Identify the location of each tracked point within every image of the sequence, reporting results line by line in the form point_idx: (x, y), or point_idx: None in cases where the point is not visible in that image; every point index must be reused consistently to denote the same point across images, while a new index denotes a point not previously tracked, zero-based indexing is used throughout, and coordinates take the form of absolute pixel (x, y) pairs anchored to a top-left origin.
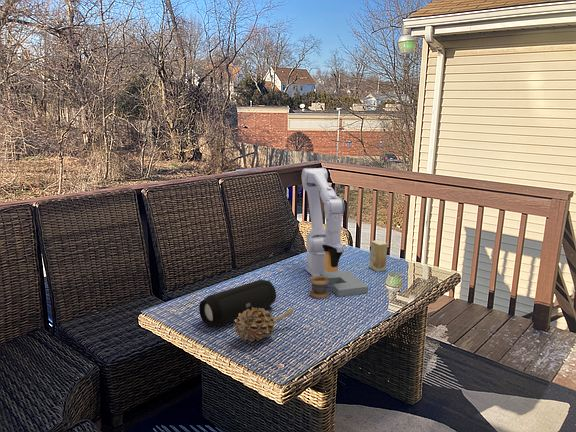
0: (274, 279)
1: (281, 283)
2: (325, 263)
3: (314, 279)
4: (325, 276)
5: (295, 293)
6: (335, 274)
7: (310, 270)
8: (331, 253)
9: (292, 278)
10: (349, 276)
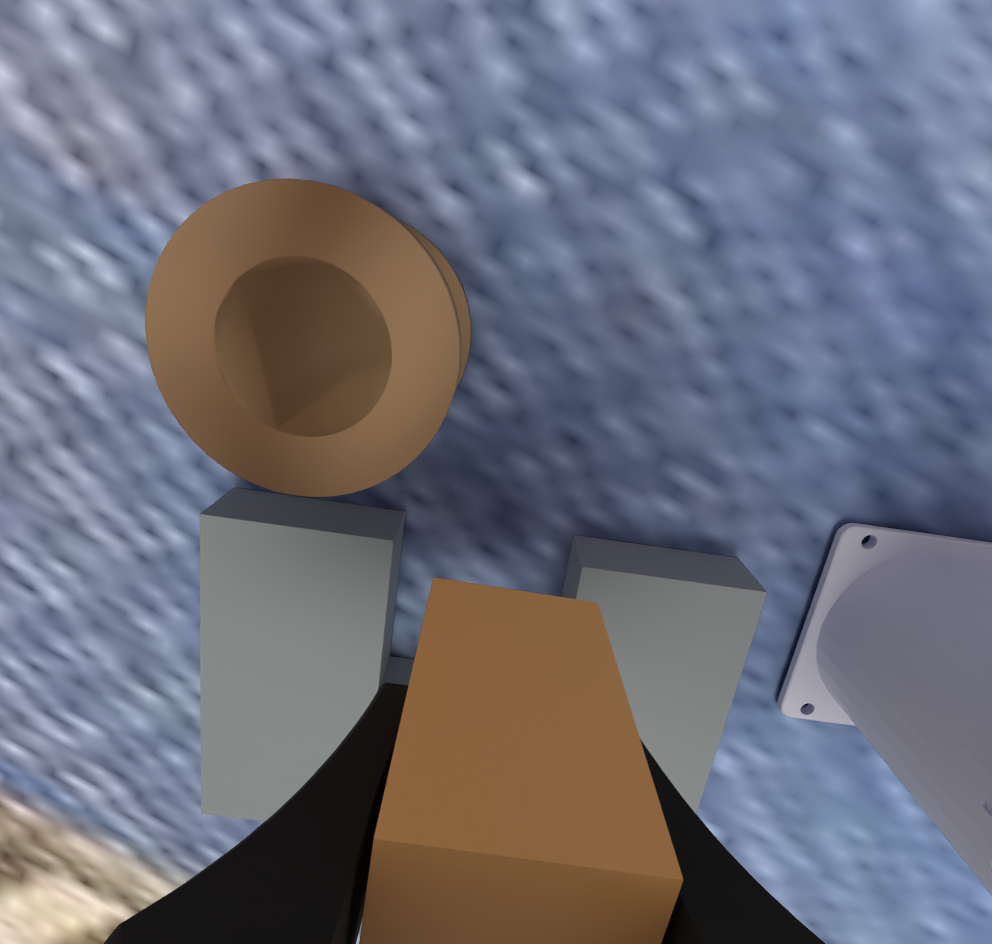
0: None
1: (899, 29)
2: (554, 660)
3: (313, 258)
4: (646, 593)
5: (501, 53)
6: (643, 717)
7: (972, 562)
8: (129, 930)
9: (953, 270)
10: None
